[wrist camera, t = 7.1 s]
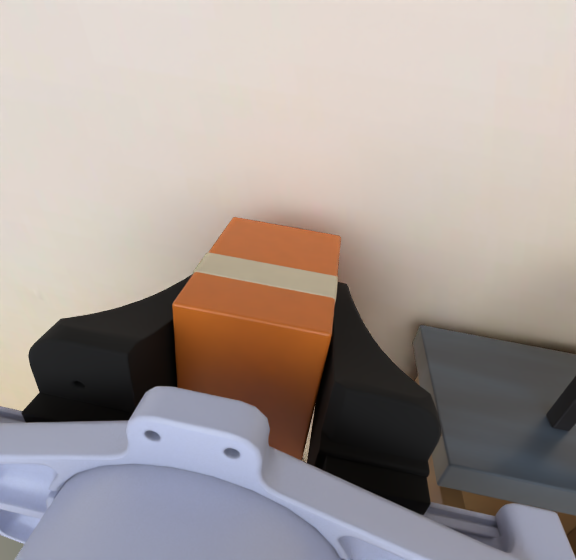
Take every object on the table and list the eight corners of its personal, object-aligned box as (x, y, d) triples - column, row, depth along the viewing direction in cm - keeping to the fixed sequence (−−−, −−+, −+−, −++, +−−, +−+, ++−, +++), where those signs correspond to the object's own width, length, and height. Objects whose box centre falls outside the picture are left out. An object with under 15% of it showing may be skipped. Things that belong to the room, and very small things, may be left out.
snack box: (232, 214, 14) (170, 302, 9) (342, 234, 14) (333, 334, 9) (227, 331, 17) (178, 440, 12) (317, 349, 17) (300, 467, 12)
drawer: (452, 240, 15) (510, 366, 9) (823, 305, 14) (1144, 489, 8) (355, 485, 24) (353, 619, 19) (570, 532, 24) (637, 689, 18)
